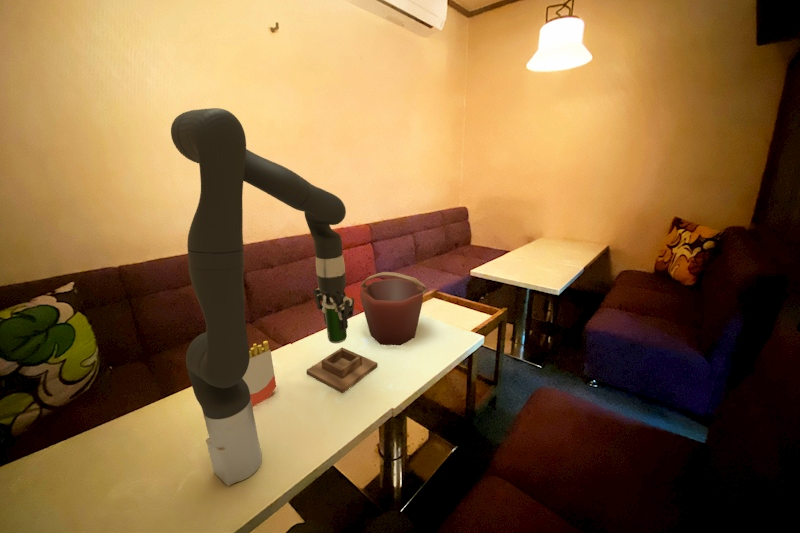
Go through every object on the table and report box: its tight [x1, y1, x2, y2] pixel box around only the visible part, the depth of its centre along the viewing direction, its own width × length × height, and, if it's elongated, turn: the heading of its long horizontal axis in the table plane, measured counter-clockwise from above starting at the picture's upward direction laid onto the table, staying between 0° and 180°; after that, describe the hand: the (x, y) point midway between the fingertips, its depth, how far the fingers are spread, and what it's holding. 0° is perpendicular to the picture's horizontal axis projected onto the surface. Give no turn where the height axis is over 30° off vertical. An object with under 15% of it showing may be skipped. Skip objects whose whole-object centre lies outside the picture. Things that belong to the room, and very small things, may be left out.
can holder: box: [305, 347, 378, 394], centre depth 113 cm, size 16×16×4 cm
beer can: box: [324, 302, 348, 344], centre depth 99 cm, size 5×5×12 cm
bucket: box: [359, 271, 428, 347], centre depth 130 cm, size 24×22×25 cm
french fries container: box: [243, 340, 277, 407], centre depth 98 cm, size 5×11×18 cm, turn 135°
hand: (336, 326), depth 100 cm, fingers closed on beer can, 5 cm apart
